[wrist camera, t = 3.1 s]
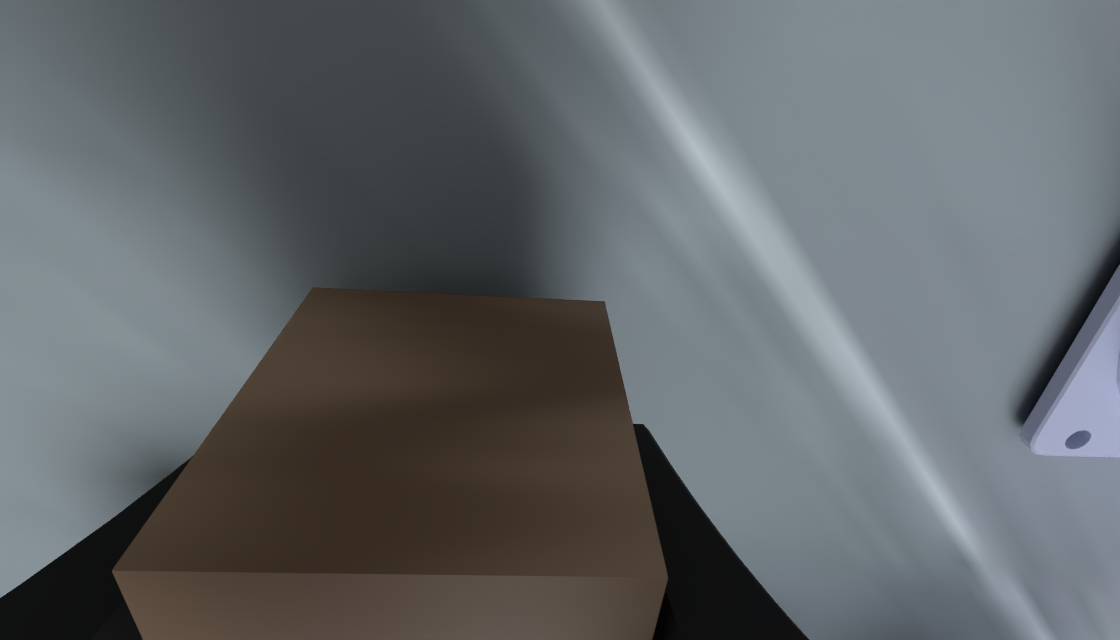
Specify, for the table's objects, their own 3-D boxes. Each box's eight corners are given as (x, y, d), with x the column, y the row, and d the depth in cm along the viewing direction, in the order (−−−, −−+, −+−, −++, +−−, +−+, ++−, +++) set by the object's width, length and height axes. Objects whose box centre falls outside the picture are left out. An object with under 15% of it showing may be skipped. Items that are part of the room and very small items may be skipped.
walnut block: (604, 301, 9) (668, 577, 5) (578, 503, 12) (607, 816, 7) (313, 287, 9) (111, 570, 5) (343, 498, 11) (225, 823, 7)
